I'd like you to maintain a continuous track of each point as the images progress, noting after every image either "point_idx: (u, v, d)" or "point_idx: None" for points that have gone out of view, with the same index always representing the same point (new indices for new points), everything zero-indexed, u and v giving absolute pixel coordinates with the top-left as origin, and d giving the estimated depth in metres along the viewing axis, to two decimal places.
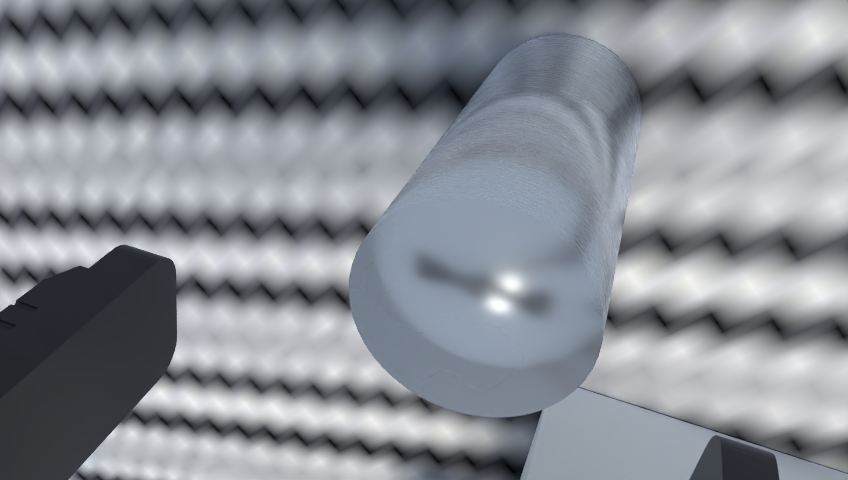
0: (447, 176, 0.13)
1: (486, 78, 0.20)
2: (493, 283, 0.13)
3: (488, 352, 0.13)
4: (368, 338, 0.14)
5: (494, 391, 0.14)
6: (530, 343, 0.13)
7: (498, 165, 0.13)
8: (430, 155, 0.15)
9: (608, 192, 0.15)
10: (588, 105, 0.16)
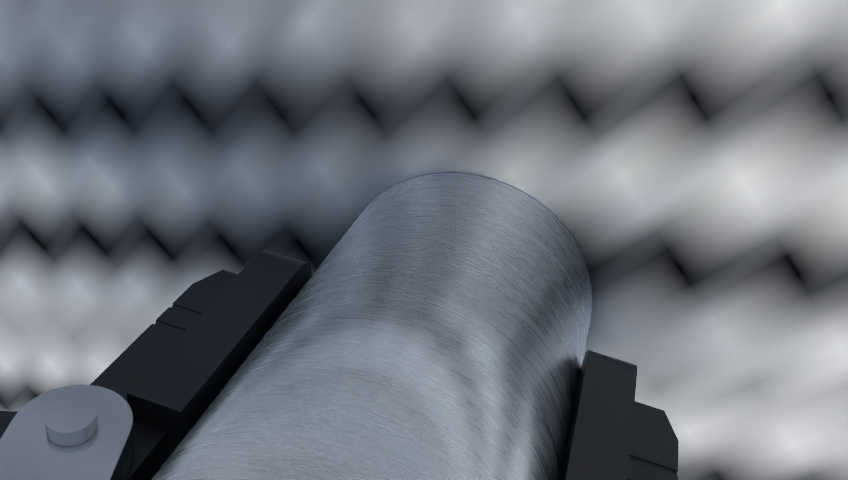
0: None
1: (334, 247, 0.12)
2: None
3: None
4: None
5: None
6: None
7: None
8: None
9: None
10: (470, 374, 0.09)
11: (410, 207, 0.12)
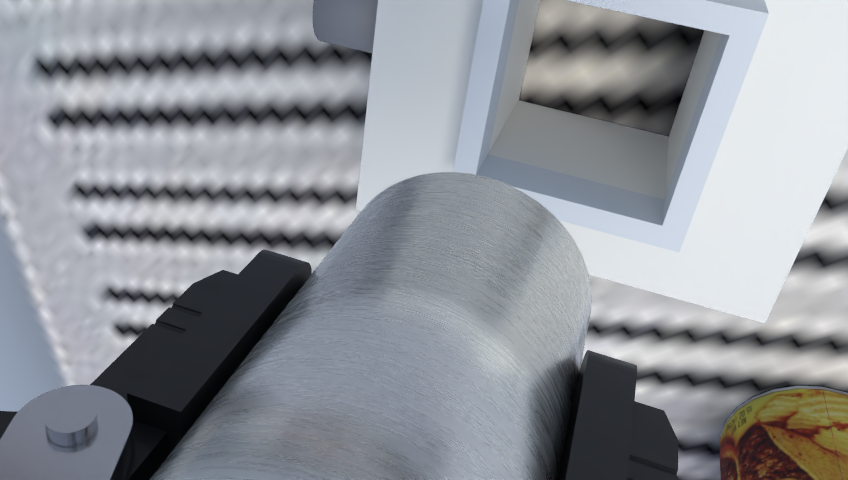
0: None
1: (333, 246, 0.12)
2: None
3: None
4: None
5: None
6: None
7: None
8: None
9: None
10: (468, 373, 0.09)
11: (409, 206, 0.12)
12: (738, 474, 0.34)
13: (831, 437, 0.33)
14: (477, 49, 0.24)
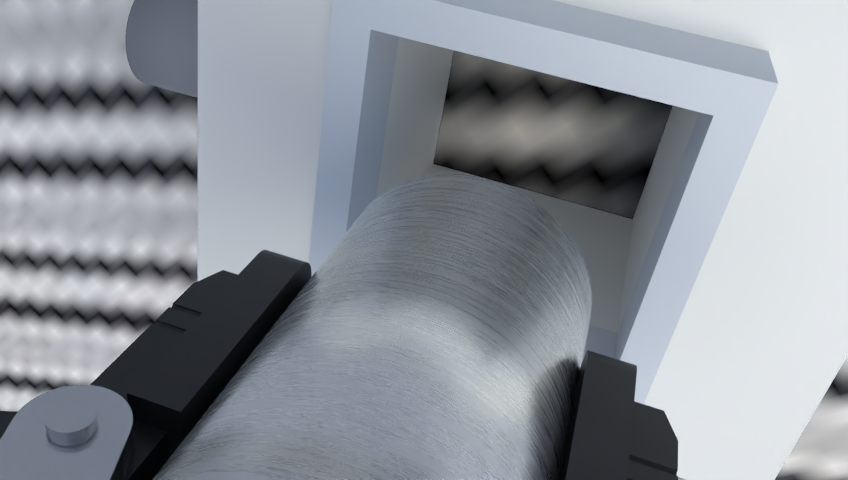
0: None
1: None
2: None
3: None
4: None
5: None
6: None
7: None
8: None
9: None
10: (469, 376, 0.09)
11: (410, 208, 0.12)
12: None
13: None
14: (325, 119, 0.16)
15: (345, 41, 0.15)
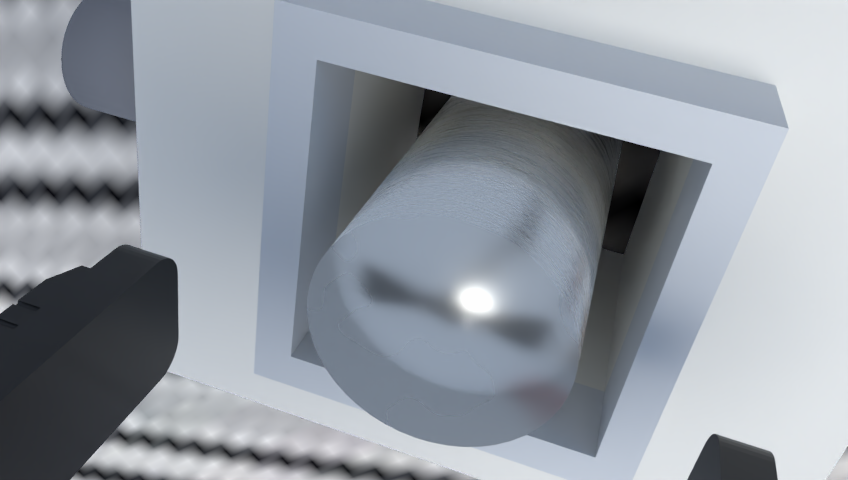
0: (412, 189, 0.12)
1: None
2: (460, 306, 0.12)
3: (457, 378, 0.12)
4: (329, 363, 0.13)
5: (463, 419, 0.13)
6: (501, 369, 0.12)
7: (466, 179, 0.12)
8: (397, 165, 0.14)
9: (586, 204, 0.14)
10: None
11: None
12: None
13: None
14: (269, 160, 0.14)
15: (288, 73, 0.13)
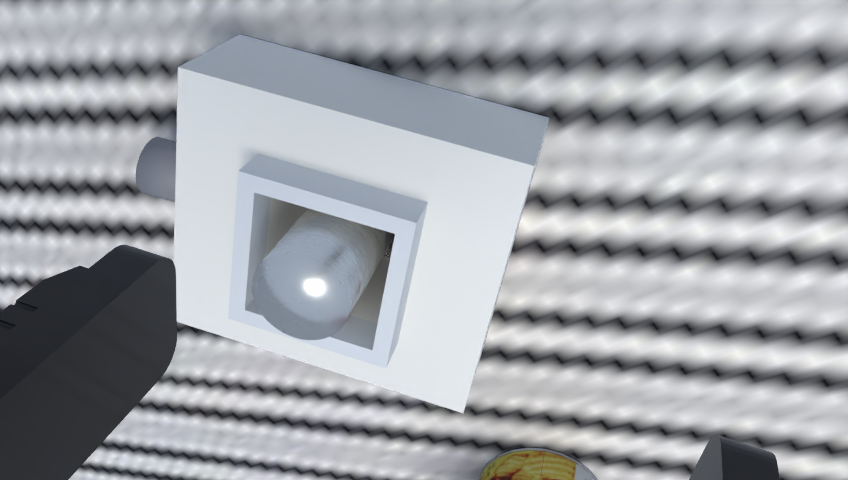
0: (290, 242, 0.33)
1: None
2: (307, 284, 0.33)
3: (308, 312, 0.33)
4: (260, 308, 0.34)
5: (312, 329, 0.34)
6: (323, 308, 0.33)
7: (310, 238, 0.33)
8: (289, 230, 0.35)
9: (363, 246, 0.35)
10: None
11: None
12: None
13: None
14: (236, 228, 0.35)
15: (243, 196, 0.34)
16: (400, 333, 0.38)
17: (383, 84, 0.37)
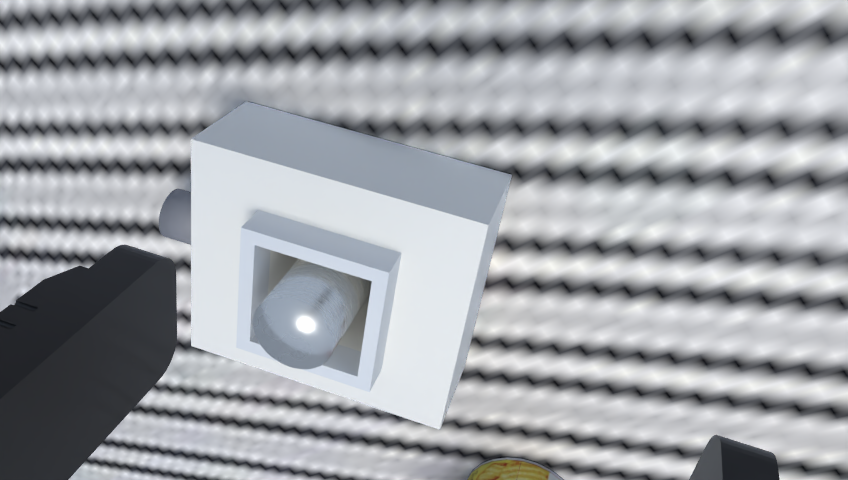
0: (284, 287, 0.39)
1: None
2: (298, 323, 0.39)
3: (300, 346, 0.39)
4: (261, 342, 0.40)
5: (303, 360, 0.40)
6: (312, 343, 0.39)
7: (301, 284, 0.39)
8: (285, 274, 0.41)
9: (347, 288, 0.41)
10: None
11: None
12: None
13: None
14: (240, 273, 0.41)
15: (245, 248, 0.40)
16: (383, 361, 0.43)
17: (367, 147, 0.42)
